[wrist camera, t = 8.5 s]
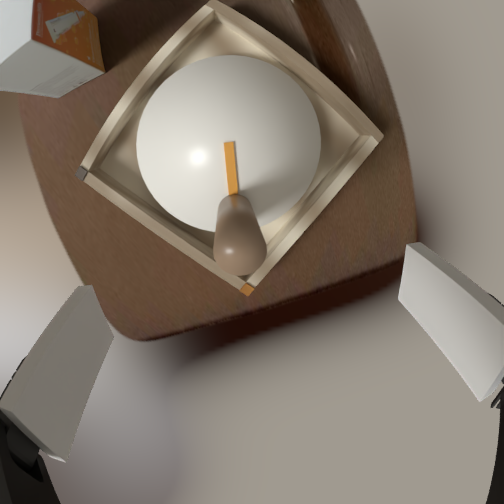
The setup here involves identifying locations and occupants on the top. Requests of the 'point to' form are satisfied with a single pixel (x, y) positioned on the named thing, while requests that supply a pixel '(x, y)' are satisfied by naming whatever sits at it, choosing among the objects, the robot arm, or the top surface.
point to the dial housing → (209, 45)
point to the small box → (47, 46)
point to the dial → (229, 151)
